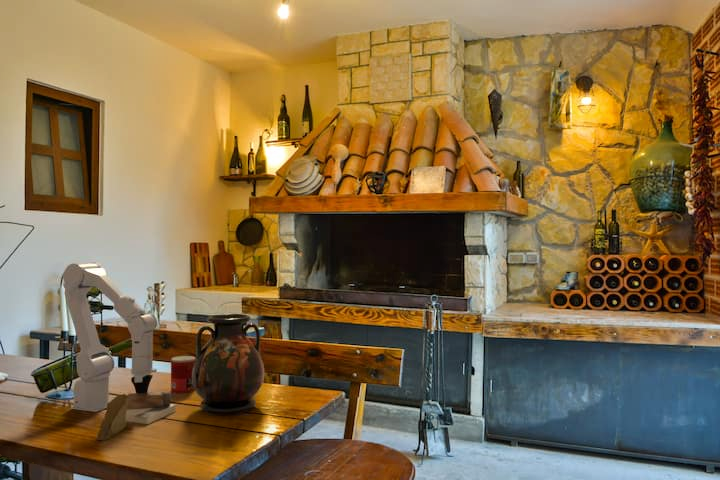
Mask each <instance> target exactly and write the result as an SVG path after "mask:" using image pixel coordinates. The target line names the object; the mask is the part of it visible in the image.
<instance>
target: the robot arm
mask: <svg viewBox="0 0 720 480" xmlns="http://www.w3.org/2000/svg"><path fill="white" fill-rule="evenodd" d="M61 276H62V278H63V279H62V280H63V282H64V297H65V301H66V305H67V307H68V310H69V314H70V318H71V320H72V323H73V327H74V331H75V334H76V338H77V341H78V343H79V344H78V345H79V347H80V351H79V352H78V354H77V355H76V356H75V360H76V373H77V375H78V377H79V378H78V379H77V380H76V381H75V383H74V384H73V406H71V410H78V411H86V412H92V413H96V412H100V411H103V410H105V409H107V404H108V403H109V399H110V398H109V395H110V394H109V393H110V392H109V391H110V390H109V387H110V384H109V383H110V380H109V379H110V376H111V372H112V371H113V369H114V368H115V359H114V357H113V356H112V355H111V354H110V352H109V349H108V347H106V346H105V345H103V344H101V341H100V337H99V335H98V330H97V327H96V324H95V321H94V317H93V315H92V311H91V308H90V304H89V301H88V297H87V294H89V292H90V291H91V289H92V288H94V287H95V288H96V289H97V290H98V291H100V292H101V293H102V294H103V295H104V296H105V297H106V298H107V299H108V300H110V301H111V302H112V303H113V310H114V311H115V312H116V313H117V314H118V315H119V316H120V318H121V319H123V320H124V321H125V322H126V323H127V329H128V332H129V333H130V337H131V338H130V339H131V371H130V374H131V375H132V376H131V378H130V380H131V383H132V385H133V387H134V390H135V393H149V392H148V391H149V386H150V383H151V381H152V378H153V376H154V375H153V374H151V373H156V372H157V369H158V368H153V363H154V362H153V359H154V357H153V356H154V355H153V353H154V351H153V348H154V331H155V330H156V329H157V325H158V321H157V318H156V316H155V315H154V314H153V313H151V312H146V310H145V309H144V308H142V307H141V306H140V305H139V304H138V303H137V302H136V299H135V298H134V297H133V296H132V297H131V296H129V295H123V293H122V292H121V291H120V290H119V288H117V285H115V284H114V282H112V280H111V279H110V278H109V277H108V276H107V273H106V269H104V268H103V267H102V266H101V265H100V264H99V263H97V262H92V261H91V262H90V263H89V262H87V263H86V262H85V263H74V262H73V263H70V264H68V265H67V266H66V268H65V269H64V270H63V273H62V275H61Z"/></svg>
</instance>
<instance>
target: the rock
mask: <svg viewBox="0 0 720 480" xmlns="http://www.w3.org/2000/svg"><path fill="white" fill-rule="evenodd" d="M127 407H128V397H127V394H125V393H122V394H118V395H116V396H115V397H114V398H112V399H111V400H110V402H109V403H108V404H107V408H106V412H105V414H104V418H103V419H102V421H101V423H100V427H99V431H98V432H97V436H96V438H95V440H97V441H99V440H100V441H106V440H107V439H109V438H111V437H113V436H114V435H117V434H118V433H120V432H121V431H123V430H124V429H125V428H126V423H127V421H126V412H127Z"/></svg>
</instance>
